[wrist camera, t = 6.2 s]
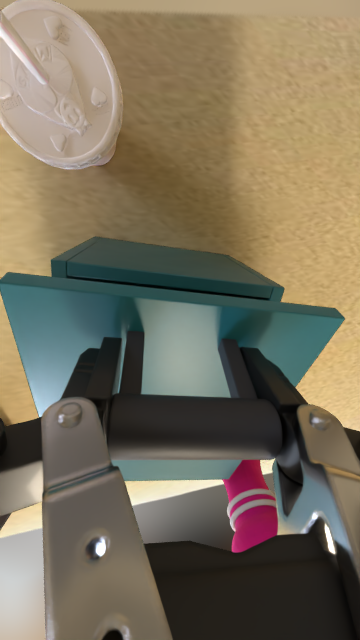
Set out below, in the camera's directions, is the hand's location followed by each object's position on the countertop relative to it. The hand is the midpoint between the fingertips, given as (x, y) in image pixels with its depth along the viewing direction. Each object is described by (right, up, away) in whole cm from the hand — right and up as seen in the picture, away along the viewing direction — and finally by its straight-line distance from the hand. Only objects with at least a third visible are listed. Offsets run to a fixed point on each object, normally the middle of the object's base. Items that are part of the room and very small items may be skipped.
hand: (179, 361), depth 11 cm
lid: (-1, -4, +5) cm, 6 cm away
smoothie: (-7, +17, +10) cm, 21 cm away
